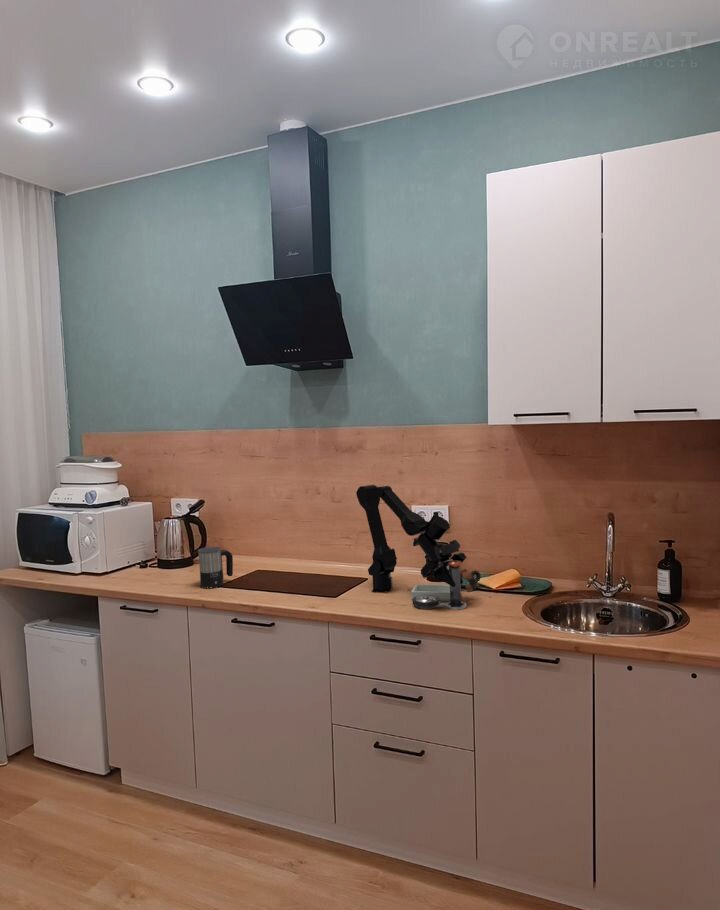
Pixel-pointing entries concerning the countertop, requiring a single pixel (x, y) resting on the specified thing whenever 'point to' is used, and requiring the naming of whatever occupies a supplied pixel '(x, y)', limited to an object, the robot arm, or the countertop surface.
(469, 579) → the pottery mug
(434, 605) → the tensioner
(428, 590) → the tray
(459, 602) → the pin
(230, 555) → the milk frother
